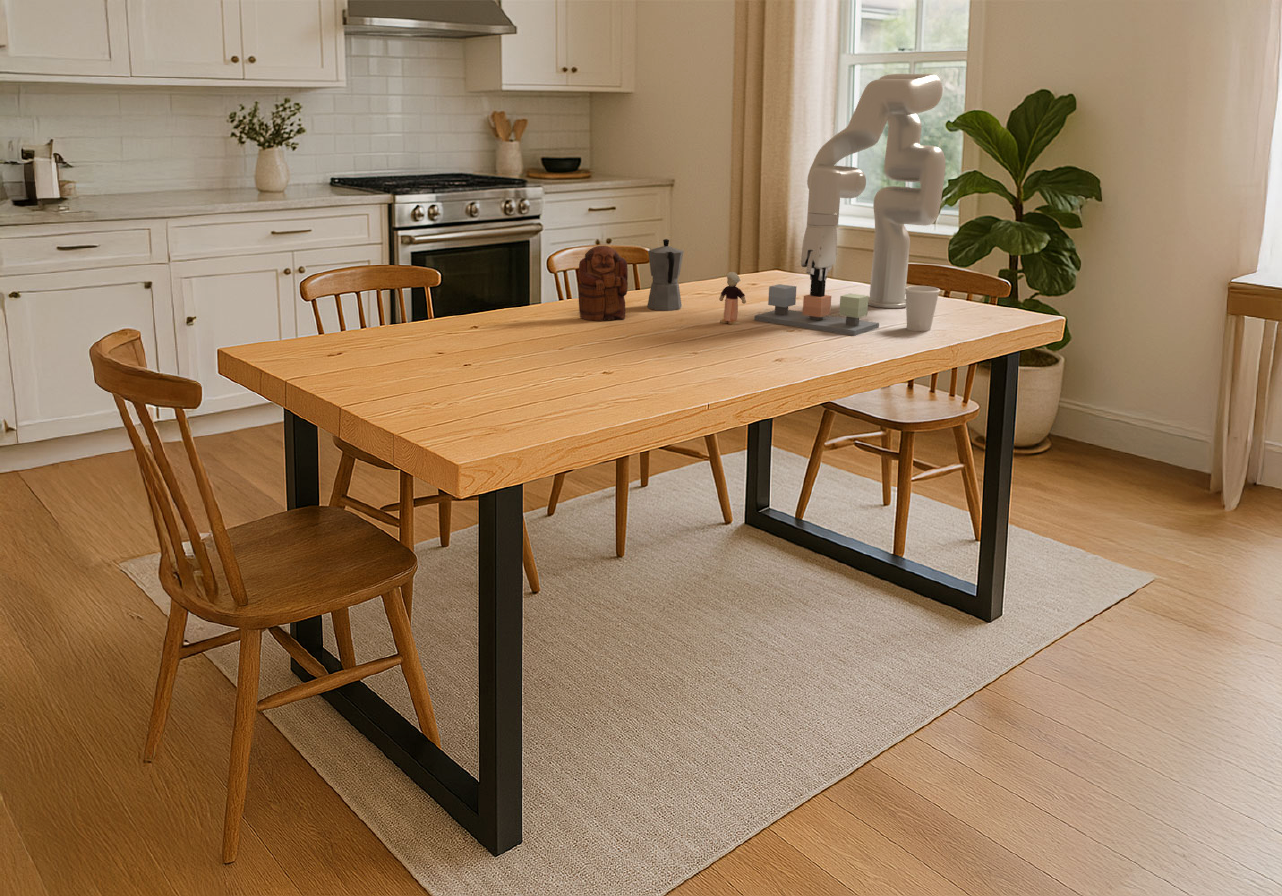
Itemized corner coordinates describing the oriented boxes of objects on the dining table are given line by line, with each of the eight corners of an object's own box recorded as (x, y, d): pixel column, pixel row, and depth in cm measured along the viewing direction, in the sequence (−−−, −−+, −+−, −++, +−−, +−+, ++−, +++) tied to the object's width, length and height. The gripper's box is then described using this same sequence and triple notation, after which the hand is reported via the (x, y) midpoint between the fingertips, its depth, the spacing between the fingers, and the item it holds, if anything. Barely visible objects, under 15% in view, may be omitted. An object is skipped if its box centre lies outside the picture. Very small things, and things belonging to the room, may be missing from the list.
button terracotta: (812, 312, 273) (813, 293, 272) (830, 314, 271) (831, 295, 269) (802, 314, 270) (803, 295, 268) (820, 317, 267) (821, 298, 265)
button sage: (848, 312, 267) (850, 293, 266) (867, 315, 264) (868, 295, 263) (838, 315, 264) (840, 296, 262) (857, 318, 261) (859, 298, 259)
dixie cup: (937, 333, 263) (941, 292, 259) (901, 331, 264) (905, 290, 261) (935, 326, 270) (939, 286, 267) (900, 324, 272) (904, 284, 269)
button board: (780, 313, 284) (781, 300, 283) (878, 327, 268) (880, 314, 267) (754, 320, 274) (754, 306, 273) (854, 335, 258) (855, 321, 257)
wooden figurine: (583, 322, 268) (583, 248, 262) (577, 317, 273) (577, 245, 268) (629, 320, 271) (630, 247, 266) (622, 315, 277) (623, 244, 271)
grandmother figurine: (713, 322, 270) (715, 271, 266) (719, 320, 273) (722, 269, 269) (742, 326, 266) (744, 274, 262) (748, 323, 269) (750, 272, 266)
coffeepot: (642, 303, 294) (644, 236, 288) (677, 303, 295) (679, 236, 290) (652, 314, 279) (654, 243, 274) (688, 313, 281) (690, 243, 275)
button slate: (778, 302, 279) (779, 284, 277) (795, 304, 276) (796, 286, 275) (768, 305, 275) (769, 286, 274) (785, 307, 272) (786, 288, 271)
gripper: (823, 217, 271) (818, 290, 276) (793, 221, 260) (788, 297, 265) (850, 219, 267) (845, 294, 272) (821, 224, 255) (815, 301, 261)
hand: (817, 295), depth 269 cm, fingers closed
